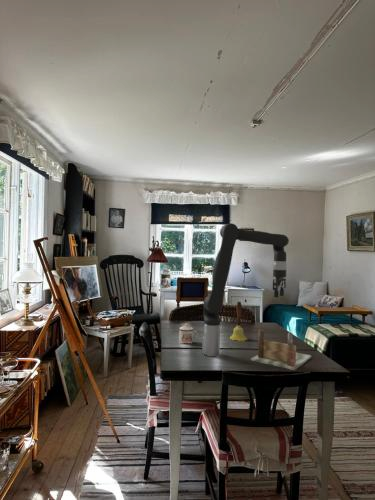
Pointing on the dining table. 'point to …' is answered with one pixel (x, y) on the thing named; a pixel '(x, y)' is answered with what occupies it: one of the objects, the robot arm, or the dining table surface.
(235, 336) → the handbell
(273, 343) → the wooden panel
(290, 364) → the towel on rod
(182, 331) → the teacup with lid
